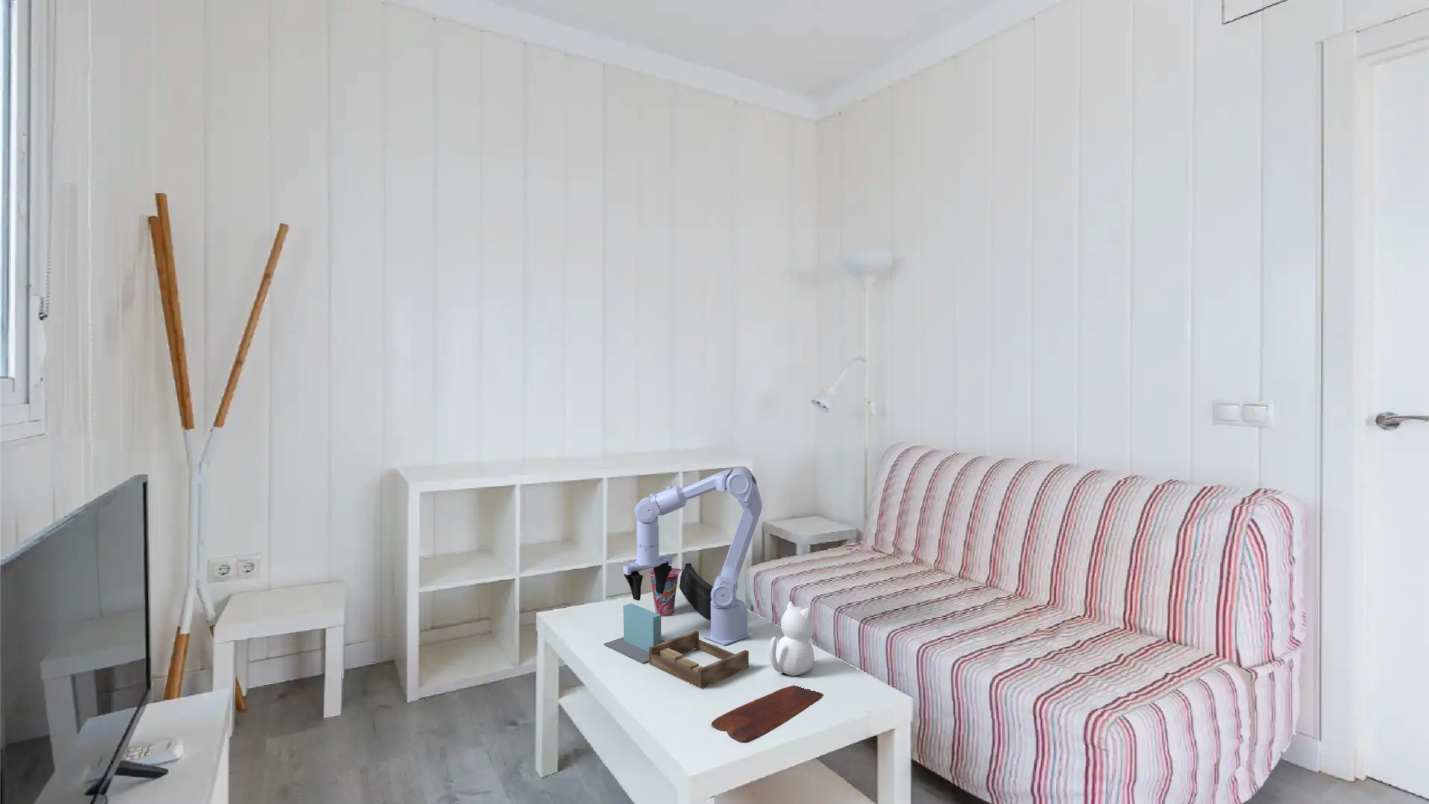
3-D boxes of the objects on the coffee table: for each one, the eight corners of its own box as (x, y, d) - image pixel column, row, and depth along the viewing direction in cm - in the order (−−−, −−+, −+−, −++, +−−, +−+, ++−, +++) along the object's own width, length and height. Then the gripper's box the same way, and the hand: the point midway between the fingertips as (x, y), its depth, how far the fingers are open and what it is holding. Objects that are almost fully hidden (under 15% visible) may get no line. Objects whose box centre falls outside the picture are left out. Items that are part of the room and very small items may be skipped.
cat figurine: (825, 671, 161) (825, 606, 160) (785, 685, 153) (785, 617, 153) (797, 658, 168) (798, 596, 167) (758, 671, 160) (758, 606, 160)
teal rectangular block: (631, 637, 180) (631, 603, 180) (661, 651, 171) (661, 614, 171) (623, 640, 178) (623, 605, 178) (653, 654, 170) (653, 617, 169)
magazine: (732, 598, 184) (693, 541, 211) (720, 600, 183) (683, 542, 209) (725, 652, 190) (688, 590, 216) (714, 654, 188) (678, 591, 215)
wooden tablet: (745, 748, 129) (745, 739, 129) (707, 728, 136) (707, 720, 136) (830, 699, 148) (830, 692, 148) (793, 684, 155) (793, 677, 155)
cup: (667, 620, 193) (667, 577, 193) (643, 615, 198) (643, 573, 197) (687, 610, 201) (686, 569, 201) (663, 605, 206) (663, 565, 205)
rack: (696, 646, 175) (696, 630, 175) (748, 668, 162) (748, 651, 162) (649, 664, 165) (649, 647, 165) (701, 688, 152) (700, 670, 152)
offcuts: (668, 660, 167) (667, 648, 167) (711, 680, 156) (711, 667, 156) (659, 663, 165) (659, 651, 165) (703, 683, 154) (703, 670, 154)
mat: (641, 632, 185) (641, 630, 185) (681, 649, 173) (681, 648, 173) (604, 645, 176) (604, 643, 176) (643, 664, 165) (643, 662, 165)
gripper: (659, 537, 189) (660, 586, 190) (615, 546, 179) (616, 599, 180) (676, 541, 184) (677, 592, 185) (632, 551, 174) (633, 605, 175)
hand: (648, 596), depth 182 cm, fingers open, 7 cm apart
